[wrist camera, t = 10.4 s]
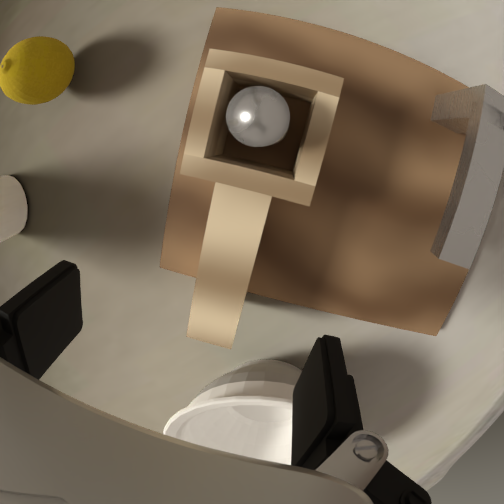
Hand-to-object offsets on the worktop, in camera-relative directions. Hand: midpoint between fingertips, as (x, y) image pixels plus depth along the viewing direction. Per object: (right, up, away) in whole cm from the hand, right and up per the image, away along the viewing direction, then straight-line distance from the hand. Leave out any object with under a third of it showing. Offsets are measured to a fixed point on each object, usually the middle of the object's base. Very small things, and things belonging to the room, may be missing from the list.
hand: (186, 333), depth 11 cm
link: (+2, +6, +10) cm, 12 cm away
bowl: (+4, -11, +18) cm, 21 cm away
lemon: (-13, +18, +9) cm, 24 cm away
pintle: (+3, +11, +8) cm, 14 cm away
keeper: (+15, +9, +8) cm, 19 cm away
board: (+9, +8, +10) cm, 16 cm away
